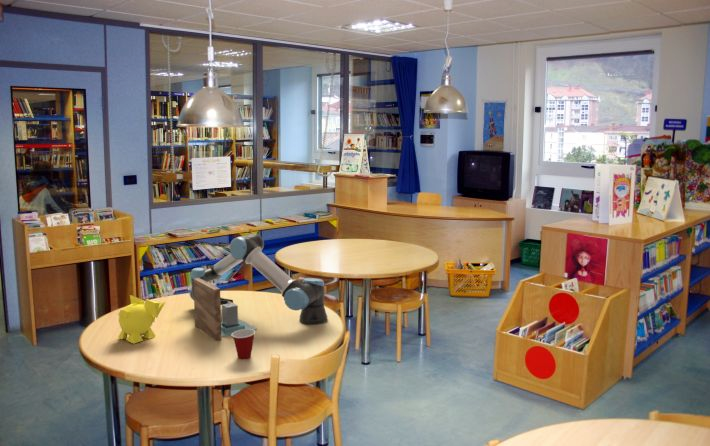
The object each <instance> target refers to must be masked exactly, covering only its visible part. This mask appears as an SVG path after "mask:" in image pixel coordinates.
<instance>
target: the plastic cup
mask: <svg viewBox="0 0 710 446" xmlns="http://www.w3.org/2000/svg"><path fill="white" fill-rule="evenodd" d="M255 334H256V330H252V329H243V330H238V331H235V332H233V333H232V334H231V335H230V336H231V337H232V338H233V342H234V344H235V345H234V346H235V351H236V355H237V359H239V360H250V358H251V357H252V352H253V346H254V339H255Z"/></svg>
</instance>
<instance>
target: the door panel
mask: <svg viewBox="0 0 710 446" xmlns="http://www.w3.org/2000/svg"><path fill="white" fill-rule="evenodd" d="M193 282H194V300H193V305H194V327H195V328H197V329H198V330H199V331H201V332H202V333H204V334H205V335H207V336H208V337H210V338H211V339H213V340H214V341H222V338H223V337H221V322H222V305H221V302H220V297H221V288H219V287H218V286H216V285H214V284H212V283H210V282H206V281H204V280H202V279H200V278H194V279H193Z"/></svg>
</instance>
